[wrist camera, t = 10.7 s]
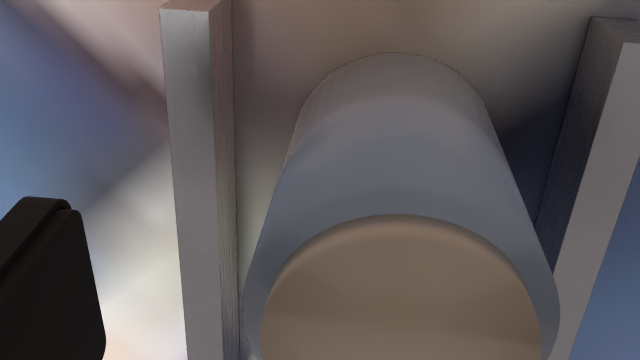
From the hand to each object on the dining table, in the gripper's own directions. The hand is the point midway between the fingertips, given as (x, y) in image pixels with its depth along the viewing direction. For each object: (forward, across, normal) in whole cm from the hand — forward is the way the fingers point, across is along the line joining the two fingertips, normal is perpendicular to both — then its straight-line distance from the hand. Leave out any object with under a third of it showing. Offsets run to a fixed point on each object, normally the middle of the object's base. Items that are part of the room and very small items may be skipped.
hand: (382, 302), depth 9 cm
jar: (+6, 0, +1) cm, 7 cm away
